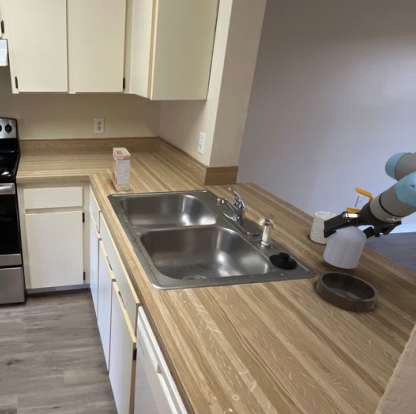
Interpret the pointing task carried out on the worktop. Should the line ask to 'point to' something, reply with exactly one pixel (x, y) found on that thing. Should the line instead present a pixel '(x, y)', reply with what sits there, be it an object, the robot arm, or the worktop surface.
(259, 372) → the worktop surface
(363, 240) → the soap bottle
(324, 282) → the holder
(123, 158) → the coffeecake box
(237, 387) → the worktop surface
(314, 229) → the white cup
